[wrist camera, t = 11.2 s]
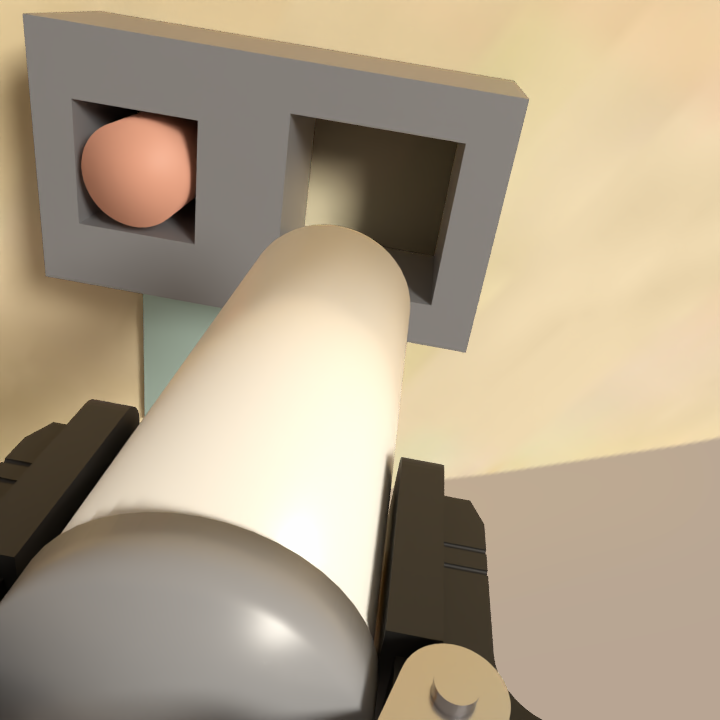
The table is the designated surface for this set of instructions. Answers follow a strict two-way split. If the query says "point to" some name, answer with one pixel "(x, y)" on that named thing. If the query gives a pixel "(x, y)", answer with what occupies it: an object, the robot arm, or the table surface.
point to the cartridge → (234, 516)
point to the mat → (170, 339)
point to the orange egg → (142, 167)
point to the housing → (254, 155)
